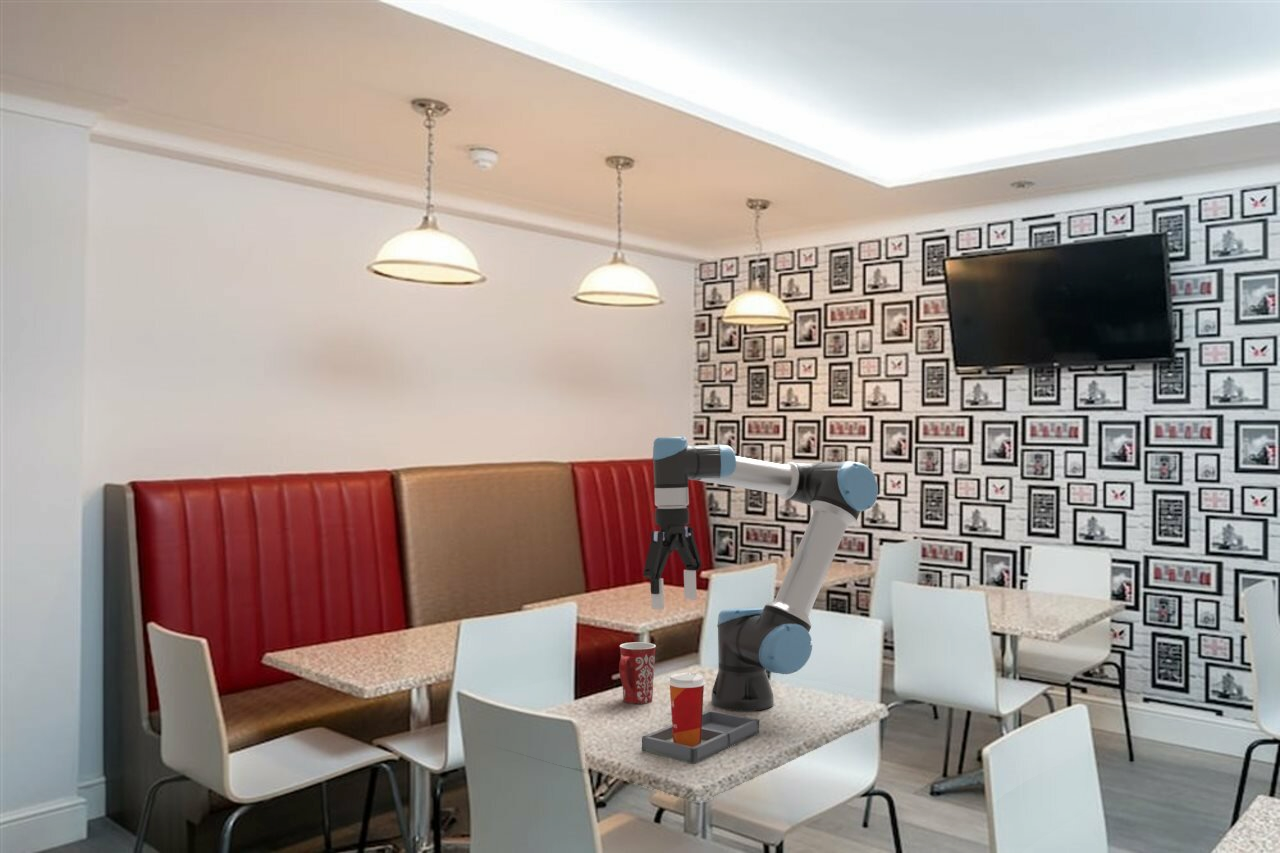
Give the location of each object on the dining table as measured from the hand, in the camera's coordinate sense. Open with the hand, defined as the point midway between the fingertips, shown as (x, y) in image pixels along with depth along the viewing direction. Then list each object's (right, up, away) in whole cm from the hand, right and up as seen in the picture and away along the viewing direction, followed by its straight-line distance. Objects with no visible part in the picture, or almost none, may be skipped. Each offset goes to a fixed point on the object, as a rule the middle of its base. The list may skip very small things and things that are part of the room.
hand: (674, 604), depth 194 cm
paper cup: (+2, -27, -12) cm, 29 cm away
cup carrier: (+6, -28, -7) cm, 29 cm away
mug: (-9, -29, +24) cm, 39 cm away
